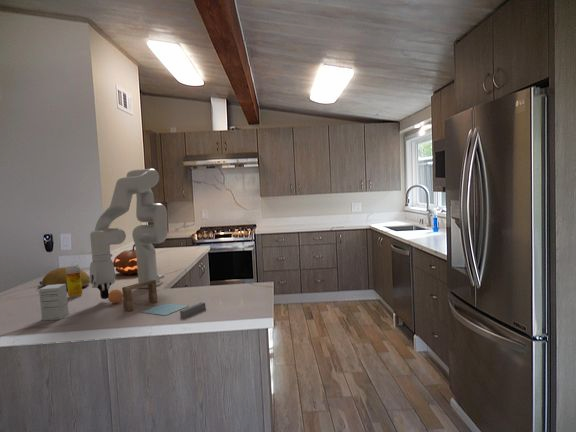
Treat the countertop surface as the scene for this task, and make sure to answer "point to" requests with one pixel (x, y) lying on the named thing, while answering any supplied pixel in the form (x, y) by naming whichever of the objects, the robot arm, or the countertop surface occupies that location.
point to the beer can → (74, 281)
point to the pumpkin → (126, 262)
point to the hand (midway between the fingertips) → (104, 298)
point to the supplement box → (53, 301)
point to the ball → (115, 296)
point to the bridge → (128, 290)
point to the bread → (63, 277)
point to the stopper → (192, 310)
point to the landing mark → (165, 309)
